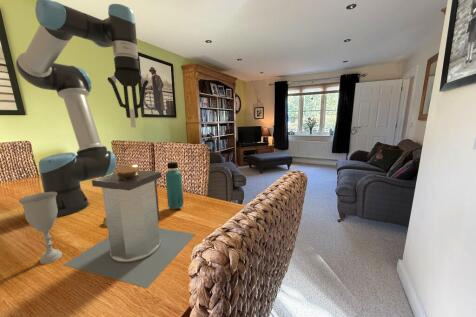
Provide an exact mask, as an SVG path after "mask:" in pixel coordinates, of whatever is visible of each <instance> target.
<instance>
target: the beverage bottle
mask: <svg viewBox="0 0 476 317" xmlns="http://www.w3.org/2000/svg"><path fill="white" fill-rule="evenodd" d="M178 168H179V164H178V162H177V161H171V162H170V161H169V162H168V163H167V169H170V170H167V171H166V172H165V174H164V175H165V184H166V199H167V207H168V208H169V209H180V208H182V207H183V206H184V199H185V198H184V193H183V191H184V190H183V178H182V172H181V171H180V170H179V169H178Z"/></svg>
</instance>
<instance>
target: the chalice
mask: <svg viewBox="0 0 476 317" xmlns="http://www.w3.org/2000/svg"><path fill="white" fill-rule="evenodd" d="M56 195H57V192H44V191H43V192H39V193H34V194H31V195H28V196H24V197H22V198H20V199H19V200H18V202H19V203H20V204H21V205H22V207H23V212H24V217H25V220H26V221H27V223H28V224H29V225H30V226H31V227H32V228H33V229H34V230H36V232H40V233H42V232H43V238H42V240H44V241H45V242H44V245H43V246H44V247H46V251H44V253H42V255H41V256H40V260H39V261H40V264H44V265H45V264H50V263H53V262H56V261H57V260H59V259H60V258H62V256H63V253H62V252H61V251H60V249H58V248H53V246H52V245H53V243H54V241H52V240H51V238H52V235H51V234H50V232H49V231H50V230H51V229H52V228H53V227H54V224H55V221H56V220H57V217H58V216H57V213H58V209H57V204H56Z"/></svg>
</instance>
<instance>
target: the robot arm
mask: <svg viewBox="0 0 476 317" xmlns="http://www.w3.org/2000/svg"><path fill="white" fill-rule="evenodd" d="M107 15H108V17H107V18H105V19H101V18H98V17H95V16H93V15H91V14H88V13H85V12H82V11H79V10H77V9H75V8H72V7H69V6H68V5H64V4H62V3H59V2H58V1H54V0H36V2H35V18H36V20H37V22H38V24H39V27H38V28H37V30H36V31H35V34H34V35H33V37H32V39H31V41H30V43H29V44H28V47H27V49H26V50H25V51H24V52H22V53H20V54H19V55H18V57H17V58H16V62H15V64H16V65H15V66H16V70H17V71H18V72H17V73H19V74H20V76H21V77H22V78H23V79H24V80H25V81H26V82H27V83H29V84H30V85H32V86H34V87H36V88H39V89H42V90H49V91H56V94H57V96H58V97H59V98H60V99H63V102H64V105H65V108H66V110H67V114H68V117H69V119H70V124H71V127H72V130H73V132H74V135H75V139H76V142H77V145H78V150H77V151H76V152H65V153H64V152H63V153H57V154H52V155H48V156H45V157H42V158H41V159H39V161H38V172H39V175H40V180H41V185H42V190H43V193H44V192H57V195H56V204H57V209H58V213H57V217H61V216H66V215H67V216H68V215H70V214H71V215H72V214H74V213H78V212H80V211H82V210H84V209H86V208H87V207H88V206H89V200H88V198H87V196H86V195H85V193H84V191H83V190H82V187H81V182H85V181H88V180H95V179H99V178H102V177H105V176H109V175H112V174H114V172H115V171H116V168H117V159H116V158H117V157H116V155H115V154H114V152H113V151H111V150H108V148H107V146H106V145H104V144H102V142H101V138H100V136H99V132H98V130H97V127H96V123H95V119H94V117H93V114H92V111H91V108H90V104H89V102H88V98H87V97H88V96H89V95H90V92H91V90H92V80H91V77H90V76H89V73H87V71H86V70H84V68H81V67H78V66H74V65H67V64H61V63H56V61H57V60H58V58H59V57H60V55H61V54H62V52H63V51H64V49H65V48H66V46H67V45H68V43H70V41H71V39H73V37H78V38H81V39H85V40H88V41H91V42H92V43H93V44H95V45H97V46H98V47H100V48H103V49H104V48H112V54H113V56H114V57H113V61H114V69H115V70H114V73H113V75H112V76H110V77H107V81H108V83H109V84H110V85H111V86H112V90H113V92H114V95H115V97H116V100H117V102H118V105H119V107H120V108H123V109H125V115H126V118H127V119H130V128H136V127H137V126H136V125H137V124H136V119H138V118H139V110H138V109H140V108H143V106H144V100H145V94H146V89H147V88H146V87H147V86H148V85H149V80H148V79H145V78H143V77H142V74H141V73H140V61H139V60H138V59H139V51H138V42H137V30H136V29H137V28H136V26H137V25H136V21H135V14H134V11H133V10H132V9H131V8H130V7H128V6H126V5H124V4H121V3H120V4H119V3H111V4H109V5H108V12H107ZM117 81H118V82H119V83H120V84H121V86H123V97H124V103H123V100H122V97H121V94H120V93H119V90H118V87H117V85H116V84H117ZM139 83H140V85H141V90H140V94H139V95H140V96H139V102H138V99H137V98H138V97H137V91H136V90H137V89H136V87H137V86H138V84H139ZM128 87H131V95H132V105H133V108H130V102H129V101H130V100H129V92H128Z"/></svg>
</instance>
